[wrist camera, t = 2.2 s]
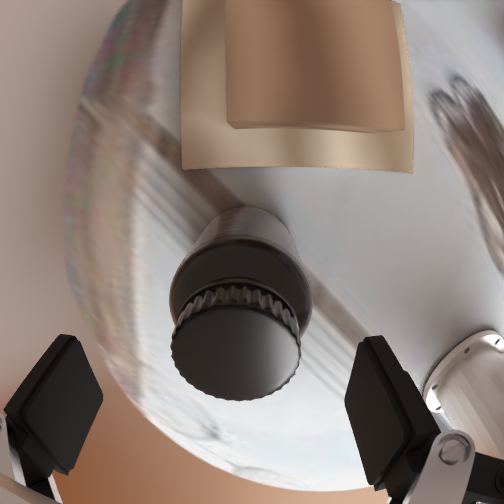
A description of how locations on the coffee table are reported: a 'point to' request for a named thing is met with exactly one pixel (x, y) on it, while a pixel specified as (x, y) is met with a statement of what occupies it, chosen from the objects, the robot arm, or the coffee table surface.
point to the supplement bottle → (240, 307)
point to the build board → (270, 139)
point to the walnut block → (313, 65)
